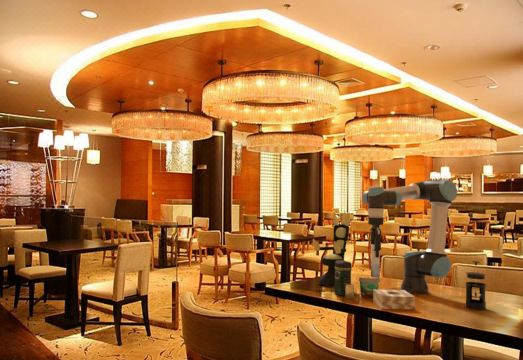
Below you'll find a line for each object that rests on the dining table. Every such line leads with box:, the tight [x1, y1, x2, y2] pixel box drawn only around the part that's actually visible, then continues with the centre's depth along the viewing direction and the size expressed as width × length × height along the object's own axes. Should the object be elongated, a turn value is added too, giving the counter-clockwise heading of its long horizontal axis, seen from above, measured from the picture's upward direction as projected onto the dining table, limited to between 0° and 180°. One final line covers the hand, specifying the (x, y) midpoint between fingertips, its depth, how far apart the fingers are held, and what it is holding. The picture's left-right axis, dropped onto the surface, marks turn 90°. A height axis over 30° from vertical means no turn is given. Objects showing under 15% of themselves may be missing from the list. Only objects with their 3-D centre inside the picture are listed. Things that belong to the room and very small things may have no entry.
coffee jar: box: [333, 259, 353, 297], centre depth 251 cm, size 10×8×19 cm
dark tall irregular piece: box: [311, 210, 352, 288], centre depth 279 cm, size 19×22×45 cm
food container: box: [358, 276, 381, 298], centre depth 247 cm, size 12×6×10 cm, turn 105°
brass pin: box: [344, 283, 355, 300], centre depth 241 cm, size 4×4×7 cm
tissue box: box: [372, 289, 416, 310], centre depth 227 cm, size 16×16×6 cm
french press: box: [465, 260, 487, 311], centre depth 226 cm, size 12×9×23 cm
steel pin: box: [370, 244, 381, 278], centre depth 231 cm, size 4×4×16 cm
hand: (375, 262), depth 231 cm, fingers closed on steel pin, 4 cm apart
